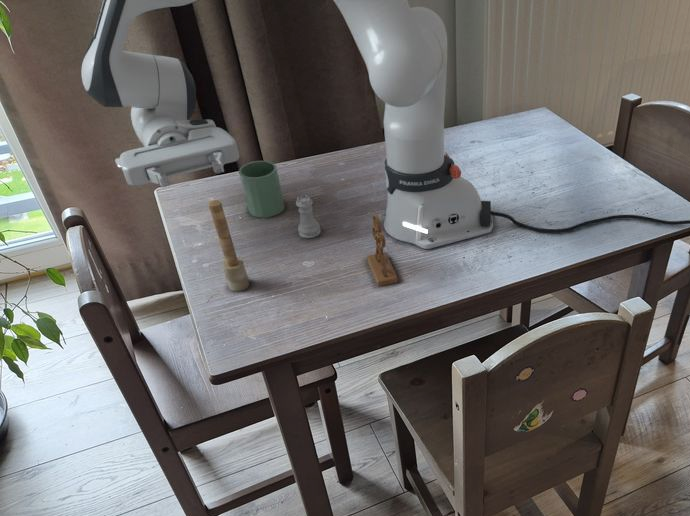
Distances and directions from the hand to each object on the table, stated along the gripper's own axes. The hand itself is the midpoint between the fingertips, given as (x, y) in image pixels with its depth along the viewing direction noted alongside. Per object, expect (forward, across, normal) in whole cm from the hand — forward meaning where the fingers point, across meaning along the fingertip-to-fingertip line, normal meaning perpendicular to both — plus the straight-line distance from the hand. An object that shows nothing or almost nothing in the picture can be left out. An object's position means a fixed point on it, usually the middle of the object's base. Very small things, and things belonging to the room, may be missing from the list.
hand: (192, 175), depth 111 cm
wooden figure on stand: (+22, +24, +16) cm, 37 cm away
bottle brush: (+12, 0, +16) cm, 20 cm away
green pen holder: (-10, +14, +16) cm, 24 cm away
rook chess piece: (+3, +18, +16) cm, 25 cm away
